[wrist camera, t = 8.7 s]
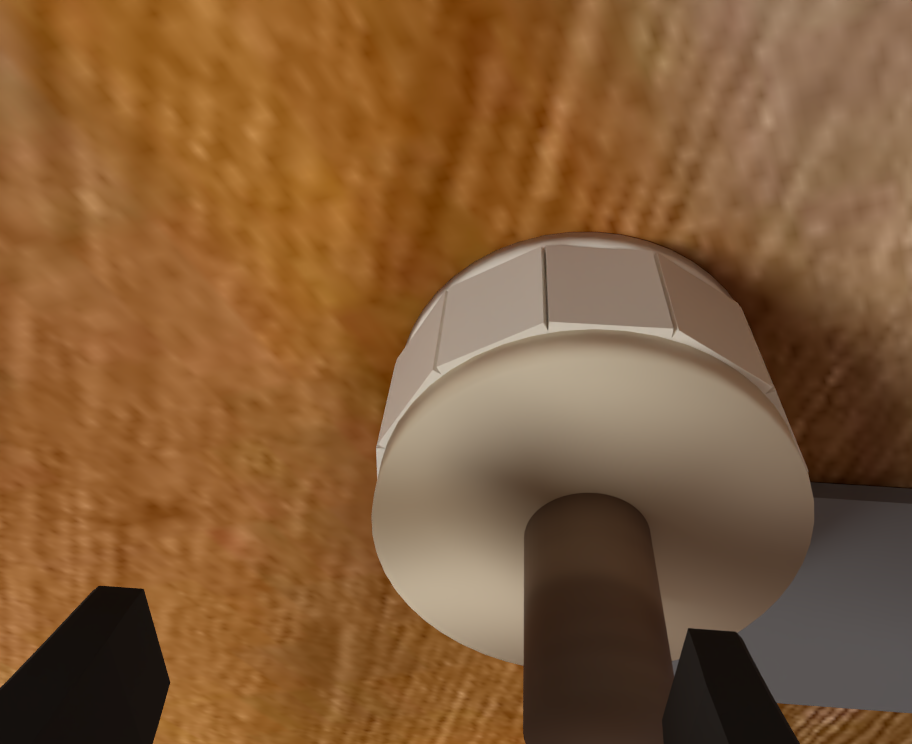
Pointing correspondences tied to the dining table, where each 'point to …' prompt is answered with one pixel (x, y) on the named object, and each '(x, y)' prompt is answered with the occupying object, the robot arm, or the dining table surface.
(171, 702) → the dining table surface
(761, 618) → the mat
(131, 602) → the robot arm
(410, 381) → the bowl
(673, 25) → the dining table surface
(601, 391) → the lid
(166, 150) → the dining table surface
